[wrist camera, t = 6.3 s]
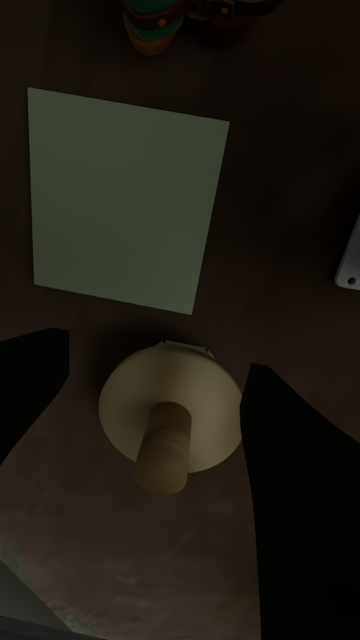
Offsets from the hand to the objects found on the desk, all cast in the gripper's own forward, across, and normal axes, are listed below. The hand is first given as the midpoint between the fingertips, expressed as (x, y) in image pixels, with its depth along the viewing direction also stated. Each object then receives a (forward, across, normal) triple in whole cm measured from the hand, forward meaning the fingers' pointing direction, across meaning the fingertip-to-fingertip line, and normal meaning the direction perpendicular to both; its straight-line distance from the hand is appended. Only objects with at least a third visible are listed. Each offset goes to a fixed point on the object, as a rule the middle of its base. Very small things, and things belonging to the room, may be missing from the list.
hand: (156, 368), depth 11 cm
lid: (+7, -1, +8) cm, 11 cm away
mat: (+10, +5, -5) cm, 12 cm away
